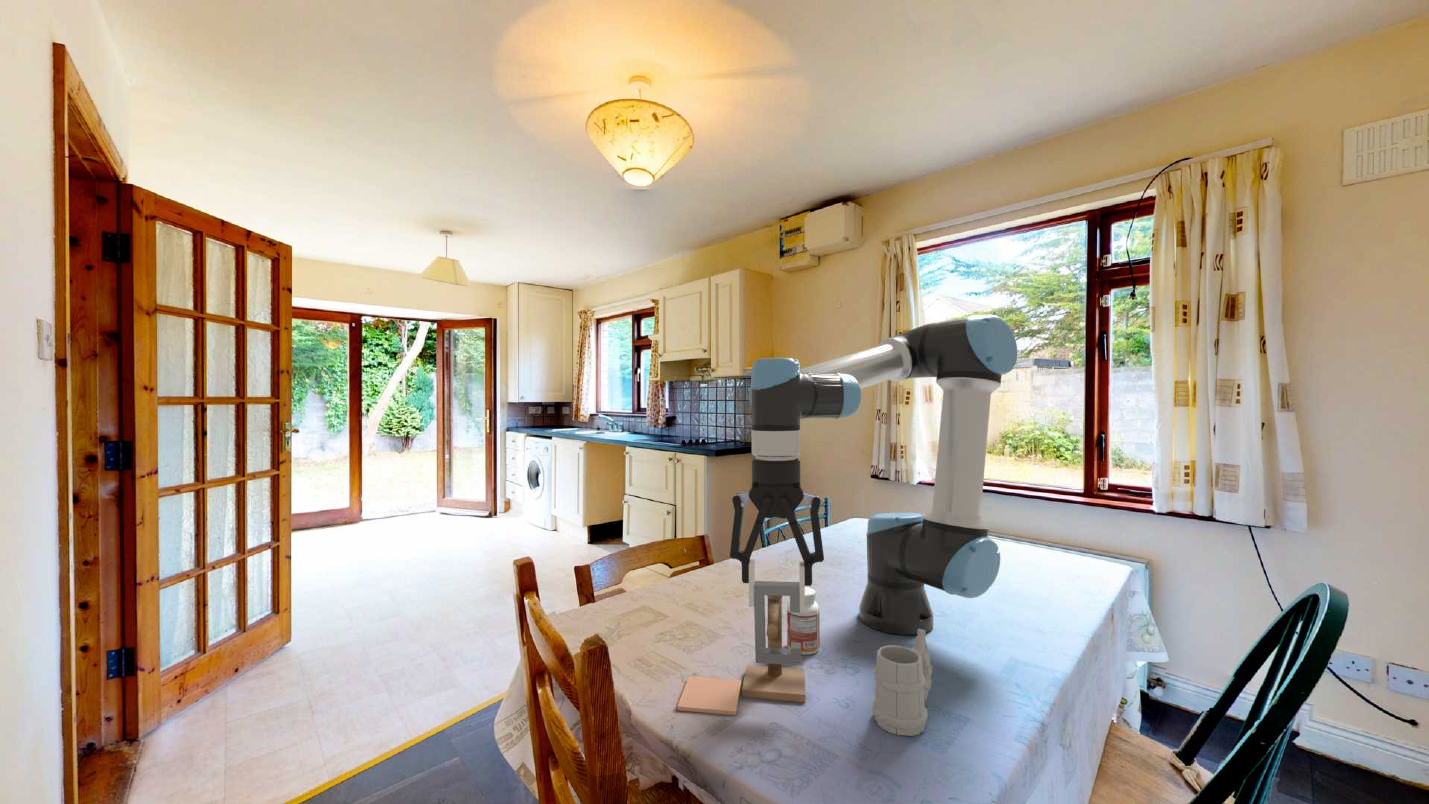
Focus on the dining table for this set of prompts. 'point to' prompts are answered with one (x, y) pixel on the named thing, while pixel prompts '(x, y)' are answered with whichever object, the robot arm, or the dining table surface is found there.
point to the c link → (761, 651)
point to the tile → (710, 695)
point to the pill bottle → (805, 625)
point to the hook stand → (774, 667)
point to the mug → (902, 687)
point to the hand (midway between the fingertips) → (777, 604)
